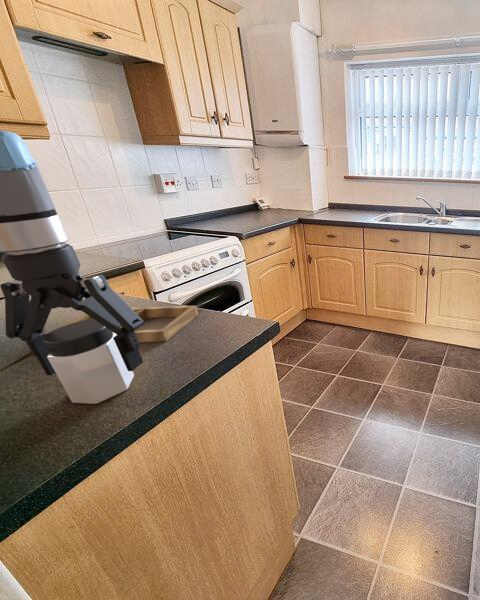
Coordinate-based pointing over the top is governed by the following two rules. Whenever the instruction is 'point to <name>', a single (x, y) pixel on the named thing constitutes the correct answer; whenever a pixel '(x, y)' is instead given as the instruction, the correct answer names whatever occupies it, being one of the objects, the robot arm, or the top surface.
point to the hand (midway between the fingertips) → (96, 368)
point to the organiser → (181, 312)
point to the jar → (87, 361)
